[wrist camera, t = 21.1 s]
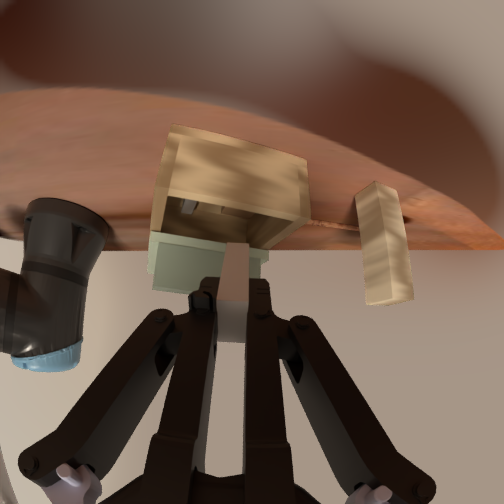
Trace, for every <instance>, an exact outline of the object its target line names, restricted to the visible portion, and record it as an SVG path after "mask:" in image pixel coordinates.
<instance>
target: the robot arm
mask: <svg viewBox="0 0 504 504" xmlns="http://www.w3.org/2000/svg"><path fill="white" fill-rule="evenodd" d="M108 231H109V228H108V226H107V224H106V223H105V222H104V221H103V220H102V219H101V218H100V217H99V216H97V215H96V214H94V213H93V212H91V211H89V210H87V209H85V208H83V207H81V206H79V205H76V204H73V203H70V202H67V201H63V200H58V199H50V198H42V199H36V200H33V201H32V202H30V203H29V205H28V208H27V211H26V214H25V217H24V258H23V263H22V268H21V273H20V274H16V273H14V272H11V271H8V270H5V269H2V268H0V352H4V353H8V354H11V359H12V362H13V364H14V365H15V366H17V367H19V368H22V369H29V370H31V371H37V372H60V371H66V370H70V369H72V368H74V367H75V366H76V365H77V364H78V363H79V361H80V353H81V343H82V342H83V336H82V334H83V321H84V311H85V302H86V293H87V286H88V280H89V275H90V272H91V271H92V269H93V267H94V265H95V263H96V261H97V259H98V257H99V255H100V253H101V251H102V250H103V248H104V246H105V244H106V240H107V236H108ZM188 300H189V312H187V313H185V314H181V315H173V313H172V312H171V311H170V310H167V309H156V310H154V311H152V312H151V313H150V314H149V315H148V316H147V317H146V318H145V319H144V320H143V322H142V323H141V324H140V325H139V326H138V327H137V329H136V330H135V331H134V332H133V333H132V335H131V336H130V337H129V338H128V339H127V340H126V342H125V343H124V344H123V345H122V346H121V348H120V349H119V350H118V351H117V352H116V354H115V355H114V356H113V357H112V359H111V360H110V361H109V362H108V363H107V365H106V366H105V367H104V368H103V370H102V371H101V372H100V373H99V375H98V376H97V377H96V378H95V380H94V381H93V382H92V383H91V385H90V386H89V387H88V388H87V390H86V391H85V392H84V394H83V395H82V396H81V398H80V399H79V400H78V401H77V403H76V404H75V405H74V407H73V408H72V409H71V410H70V412H69V413H68V414H67V416H66V417H65V419H64V420H63V421H62V422H61V424H60V425H59V427H58V428H57V429H56V430H55V431H54V432H52V433H50V434H49V435H47V436H46V437H44V438H43V439H41V440H39V441H38V442H36V443H35V444H33V445H32V446H30V447H28V448H27V449H25V450H24V451H23V452H22V453H21V454H20V456H19V458H18V466H19V469H20V472H21V473H22V474H23V475H24V476H25V477H26V478H28V479H29V480H31V481H33V482H34V483H36V484H37V485H39V486H40V487H41V488H42V489H43V491H44V492H45V494H46V495H47V497H48V498H49V499H50V501H51V502H52V504H95V503H96V500H97V498H98V497H99V496H101V494H102V485H101V483H100V480H102V479H103V478H104V476H105V475H106V474H107V473H108V472H109V471H110V470H111V468H112V467H113V465H114V464H115V462H116V460H117V459H118V457H119V455H120V454H121V452H122V450H123V449H124V447H125V445H126V444H127V442H128V440H129V438H130V437H131V435H132V434H133V432H134V430H135V428H136V427H137V425H138V424H139V422H140V420H141V419H142V417H143V415H144V414H145V412H146V410H147V408H148V407H149V405H150V403H151V402H152V400H153V399H154V397H155V395H156V394H157V392H158V390H159V389H160V387H161V385H162V384H163V382H164V380H165V379H166V377H167V375H168V374H169V372H170V370H171V369H172V367H173V366H174V368H173V372H172V375H171V379H170V383H169V387H168V391H167V395H166V399H165V403H164V408H163V412H162V416H161V421H160V425H159V429H158V432H157V433H156V434H154V435H153V436H152V438H151V441H150V445H149V450H148V454H147V459H146V464H145V469H144V474H143V475H140V476H139V477H137V478H135V479H134V480H133V481H131V482H130V483H129V484H127V485H126V486H124V487H123V488H121V489H120V490H118V491H117V492H115V493H114V494H112V495H111V496H110V497H108V498H106V499H105V500H103V501H102V502H100V503H98V504H321V503H319V502H318V501H317V500H316V499H315V498H314V497H312V496H311V495H310V494H309V493H308V492H307V491H306V490H305V489H303V488H302V487H300V486H298V485H297V484H295V483H294V477H293V465H292V454H291V447H290V444H289V443H288V442H287V438H286V426H285V415H284V405H283V393H282V384H281V373H280V363H279V359H282V361H283V364H284V366H285V369H286V371H287V373H288V375H289V378H290V380H291V382H292V384H293V386H294V388H295V391H296V393H297V395H298V397H299V400H300V402H301V404H302V406H303V409H304V411H305V413H306V415H307V417H308V419H309V422H310V424H311V426H312V428H313V430H314V432H315V435H316V437H317V439H318V441H319V443H320V445H321V448H322V450H323V452H324V454H325V456H326V458H327V460H328V462H329V464H330V467H331V469H332V471H333V473H334V475H335V477H336V479H337V481H338V483H339V484H340V486H341V487H342V489H343V490H344V491H345V493H346V494H347V495H348V496H349V497H348V499H347V501H346V503H345V504H428V503H429V502H430V501H431V500H432V499H433V497H434V496H435V493H436V484H435V481H434V480H433V479H432V478H431V477H430V476H429V475H427V474H426V473H425V472H423V471H422V470H421V469H419V468H418V467H416V466H415V465H414V464H413V463H411V462H410V461H409V460H407V459H406V458H405V457H403V456H402V455H401V454H400V453H398V452H397V450H396V449H395V447H394V446H393V444H392V442H391V441H390V439H389V437H388V436H387V434H386V432H385V431H384V429H383V428H382V426H381V425H380V423H379V421H378V420H377V418H376V416H375V415H374V413H373V412H372V410H371V408H370V407H369V405H368V404H367V402H366V400H365V399H364V397H363V396H362V394H361V392H360V391H359V389H358V388H357V386H356V385H355V383H354V381H353V380H352V378H351V377H350V376H349V374H348V372H347V370H346V369H345V367H344V366H343V364H342V363H341V361H340V359H339V358H338V356H337V355H336V353H335V352H334V350H333V349H332V347H331V345H330V344H329V343H328V341H327V339H326V338H325V336H324V335H323V333H322V332H321V330H320V329H319V327H318V325H317V324H316V322H315V321H314V320H313V319H311V318H310V317H308V316H303V315H300V316H299V315H298V316H294V317H293V318H291V319H290V321H288V320H284V319H281V318H279V317H277V316H276V315H275V314H274V312H273V311H272V305H271V297H270V287H269V283H268V282H267V280H266V279H259V278H249V243H229V242H227V245H226V250H225V256H224V261H223V266H222V272H221V277H208V276H206V277H204V278H203V279H202V280H201V282H200V286H199V289H198V290H196V291H193V292H192V293H190V294H189V296H188ZM217 341H219V342H237V343H246V344H245V378H244V423H243V470H242V474H240V475H234V476H228V477H220V478H219V477H215V476H212V475H209V474H205V452H206V442H207V432H208V422H209V413H210V404H211V394H212V386H213V378H214V369H215V361H216V352H217ZM0 504H18V502H17V499H16V497H15V494H14V491H13V488H12V486H11V483H10V480H9V477H8V473H7V470H6V467H5V463H4V460H3V456H2V451H1V447H0Z"/></svg>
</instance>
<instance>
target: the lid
mask: <svg viewBox="0 0 504 504" xmlns="http://www.w3.org/2000/svg"><path fill="white" fill-rule="evenodd" d="M226 245H227V244H226V243H220V242H214V241H208V240H202V239H196V238H190V237H184V236H178V235H172V234H166V233H160V232H153V231H151V233H150V239H149V251H148V271H147V273H151V274H154V279H153V288H152V289H153V290H159V291H166V292H174V293H182V294H190V293H192V292H193V291H196V290H198V289H199V286H200V282H201V280H202V279H203V278H204V277H206V276H208V277H221V272H222V266H223V261H224V256H225V250H226ZM268 259H269V251H268V250H262V249H256V248H250V247H249V278H259V279H260V268H261V264H263V263H265V262H266V261H267V260H268Z"/></svg>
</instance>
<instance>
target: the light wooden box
mask: <svg viewBox="0 0 504 504" xmlns="http://www.w3.org/2000/svg"><path fill="white" fill-rule="evenodd" d="M309 220H311V207H310V194H309V182H308V171H307V161H306V159H303V158H300V157H297V156H294V155H291V154H288V153H285V152H282V151H279V150H275V149H272V148H269V147H266V146H262V145H259V144H255V143H252V142H248V141H245V140H241V139H237V138H234V137H230V136H226V135H222V134H218V133H213V132H209V131H205V130H200V129H196V128H191V127H187V126H182V125H177V124H172V125H171V128H170V132H169V135H168V138H167V142H166V145H165V149H164V152H163V156H162V160H161V163H160V167H159V171H158V175H157V179H156V183H155V189H154V197H153V206H152V215H151V226H150V233H151V231H153V232H160V233H166V234H172V235H178V236H184V237H190V238H196V239H202V240H208V241H214V242H220V243H226V244H227V242H229V243H249V247H250V248H256V249H262V250H269V249H270V248H272V247H273V246H274V245H276V244H277V243H279V242H280V241H281V240H283V239H284V238H286V237H287V236H288V235H290V234H291V233H293V232H294V231H295V230H297V229H298V228H300V227H301V226H302V225H304V224H305V223H307V222H308V221H309ZM149 239H150V238H149Z"/></svg>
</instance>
